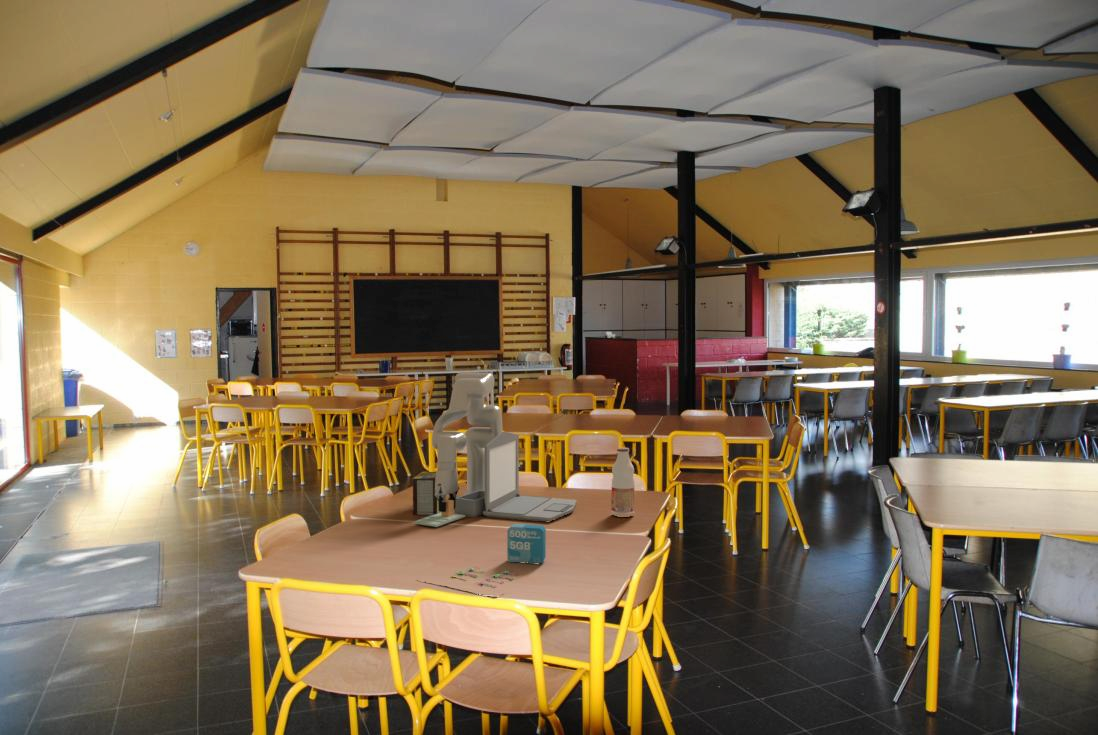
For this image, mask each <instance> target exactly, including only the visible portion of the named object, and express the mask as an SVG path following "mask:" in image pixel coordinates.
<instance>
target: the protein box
mask: <svg viewBox="0 0 1098 735" xmlns="http://www.w3.org/2000/svg"><path fill="white" fill-rule="evenodd" d="M436 472H437V471H421V472H420V473H418V474H417V475H415V476H414V477H413V478H412V515H413V516H432V515H435V514H438V513H441V512H440V511H439V502H438V500H437V498H436V497H435V495H434V494H435V478H436ZM442 494H443V493H442ZM441 497H442V498H443V496H441ZM446 498H447V497H446ZM446 498H445V500H447V499H446Z"/></svg>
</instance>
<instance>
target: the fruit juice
mask: <svg viewBox="0 0 1098 735" xmlns="http://www.w3.org/2000/svg"><path fill="white" fill-rule="evenodd" d="M616 450H617V456H616V459H615V461H614V464H613V465H612V467H611V471H612V479H611V500H610V501H611V507H610V508H611V511H610V512H612V513H613V514H618V515H619V514H620V515H623V514H631V513H634V514H635V480H634V474H635V468H634V465H633V464H632V460H631V459H630V454H629V453H630V448H629V447H623V446H622V447H621V446H620V447H617V449H616ZM612 513H611V514H612Z"/></svg>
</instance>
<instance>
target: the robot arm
mask: <svg viewBox="0 0 1098 735" xmlns="http://www.w3.org/2000/svg"><path fill="white" fill-rule="evenodd" d="M494 386H495V377H494V375H493V374H492V373H491V372H474V371H473V372H472V371H470V372H469V371H465V372H463V371H462V372H458V373H456V375H455V378H454V383H453V386H452V393H451V397H450V402H449V406H448V409H447V410H446V411H444V412H443V413H442V414H441V415H440V416H439V417H438V419H436V421H435V423H434V426H433V431H432V435H431V446H432V447H433V448H434V449H435V450H437V469H436V471H435V472H436V478H435V494H434V495H435V497H436V498H437V500H438V502H439V511H440V513H441V512H446V502H445V498H447V495H448V499H447V500H454V510H455V508H456V497H457V495H458V492H459V490H460V486H459V479H458V478H459V477H458V468H457V451H462V450H464V449H465V448H466V461H467V462H466V482H467V483H466V490H467V491H465V492H464V493H463V495H466V494H469V493H472V492H475V491H478V490H481V491H485V469H484V449H485V447H486V445H487V444H488V443H490V442H491V441H492V440H493V439H494V438H495V437H497V436H498V435H499V434H500V433H501V432H504V429H503V426H504V425H503V413H502V409H501V408H500V407H499V406H498V405H494V404H486V403H485V398H486V397H487V396H488V395H489V394H490V393H492V391H493V390H494ZM465 417H466V420H467V423H468V424H469V425H471V426H472V427H469V428H468V429H467V430H465V432H461V431H460V432H459V431H444V429H445V428H446V427H447V426H448V425H450V424H451V423H453V422H455V421H459V420H461V419H463V418H465ZM442 493H443V494H442ZM441 496H443V498H442V497H441Z"/></svg>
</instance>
